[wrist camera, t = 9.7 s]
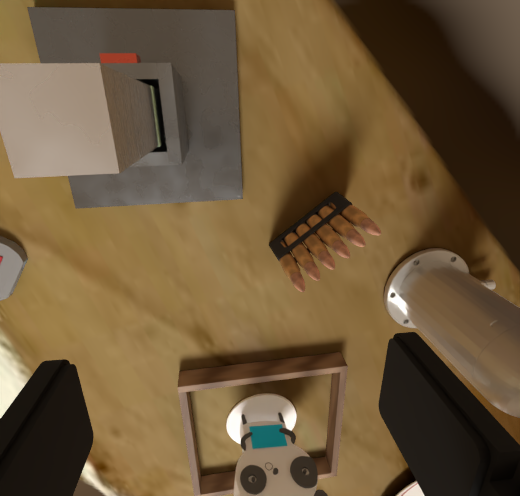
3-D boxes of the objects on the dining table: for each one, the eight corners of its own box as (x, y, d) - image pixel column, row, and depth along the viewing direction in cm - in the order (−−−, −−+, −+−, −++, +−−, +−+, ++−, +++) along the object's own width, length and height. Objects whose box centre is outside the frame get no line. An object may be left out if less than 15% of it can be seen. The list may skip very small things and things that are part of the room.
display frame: (340, 352, 51) (347, 366, 48) (330, 459, 60) (336, 476, 57) (179, 371, 48) (177, 387, 45) (195, 481, 57) (194, 499, 54)
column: (159, 89, 27) (100, 61, 12) (166, 141, 29) (121, 174, 14) (107, 90, 27) (-23, 62, 12) (117, 143, 28) (13, 179, 13)
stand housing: (233, 14, 32) (246, -33, 22) (241, 195, 39) (253, 226, 29) (35, 11, 30) (-58, -42, 20) (80, 204, 37) (30, 241, 26)
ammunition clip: (336, 190, 41) (383, 219, 30) (344, 202, 42) (393, 234, 31) (268, 244, 42) (289, 290, 31) (276, 254, 43) (300, 303, 32)
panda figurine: (304, 391, 53) (338, 490, 39) (294, 442, 57) (322, 548, 43) (228, 394, 51) (236, 499, 37) (224, 447, 55) (230, 559, 41)
